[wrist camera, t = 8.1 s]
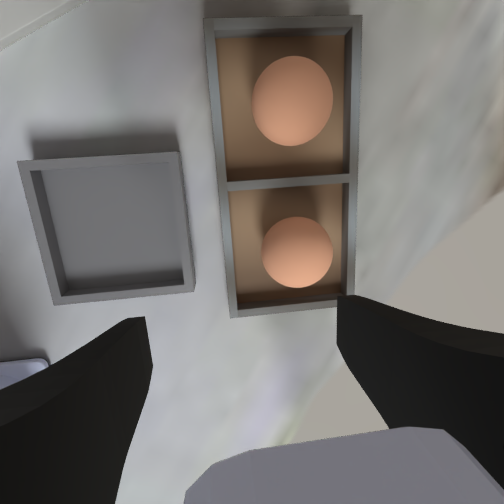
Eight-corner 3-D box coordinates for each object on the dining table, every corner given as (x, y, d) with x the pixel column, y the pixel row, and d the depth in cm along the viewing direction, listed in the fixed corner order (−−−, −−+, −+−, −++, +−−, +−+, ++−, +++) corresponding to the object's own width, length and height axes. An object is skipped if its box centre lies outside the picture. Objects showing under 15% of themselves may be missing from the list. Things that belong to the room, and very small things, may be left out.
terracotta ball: (318, 270, 20) (344, 294, 16) (258, 277, 19) (270, 303, 16) (318, 209, 19) (346, 219, 15) (254, 215, 18) (266, 226, 15)
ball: (318, 146, 18) (345, 139, 14) (250, 150, 17) (259, 145, 14) (317, 69, 17) (347, 40, 13) (245, 72, 16) (253, 42, 13)
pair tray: (344, 295, 21) (354, 305, 20) (229, 307, 20) (230, 318, 19) (350, 27, 17) (362, 14, 15) (204, 31, 16) (202, 18, 15)
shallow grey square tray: (195, 282, 20) (194, 291, 18) (66, 295, 19) (53, 305, 18) (180, 153, 18) (176, 151, 16) (33, 161, 17) (16, 160, 15)
